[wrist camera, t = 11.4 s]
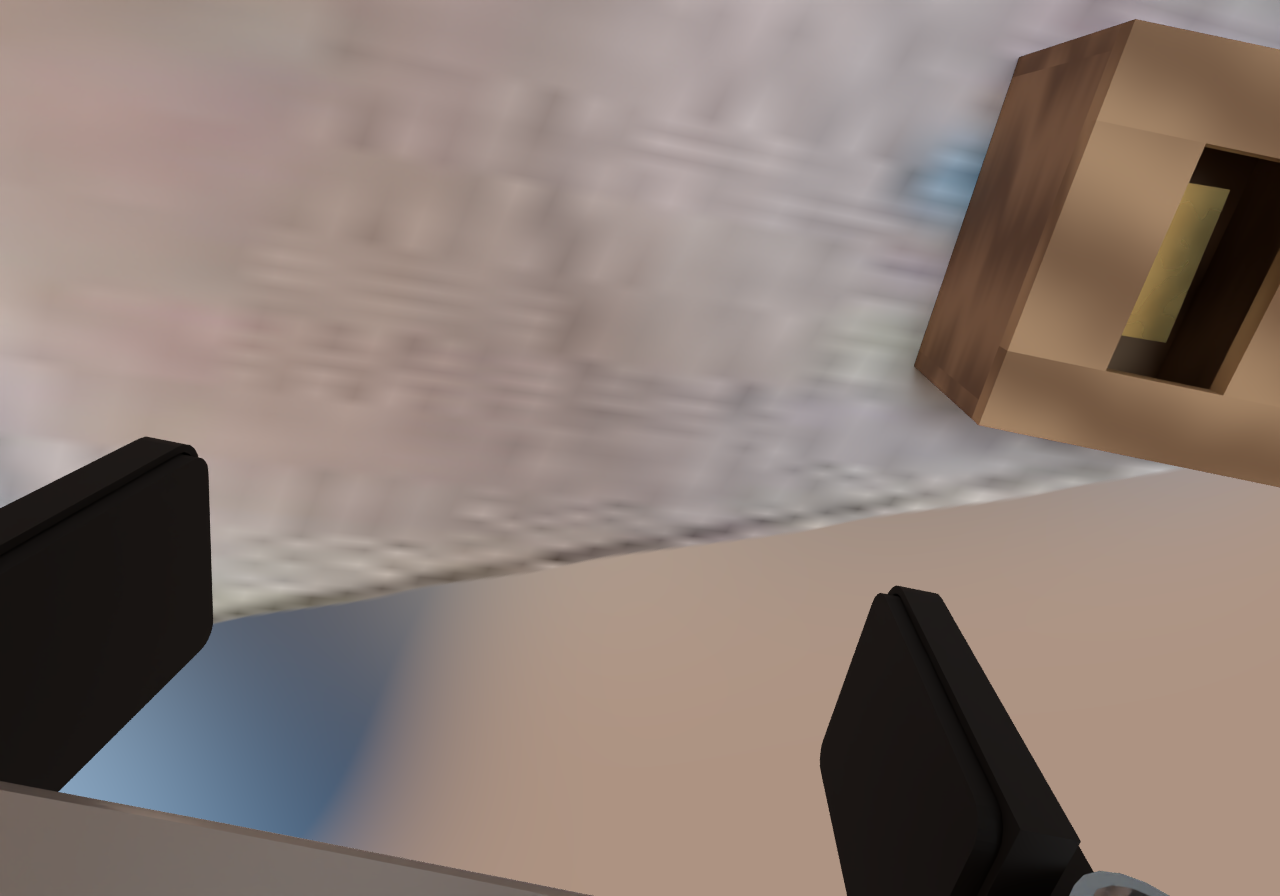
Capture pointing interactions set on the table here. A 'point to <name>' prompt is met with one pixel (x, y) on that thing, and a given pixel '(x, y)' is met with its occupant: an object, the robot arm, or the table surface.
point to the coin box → (1123, 254)
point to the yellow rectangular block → (1176, 263)
